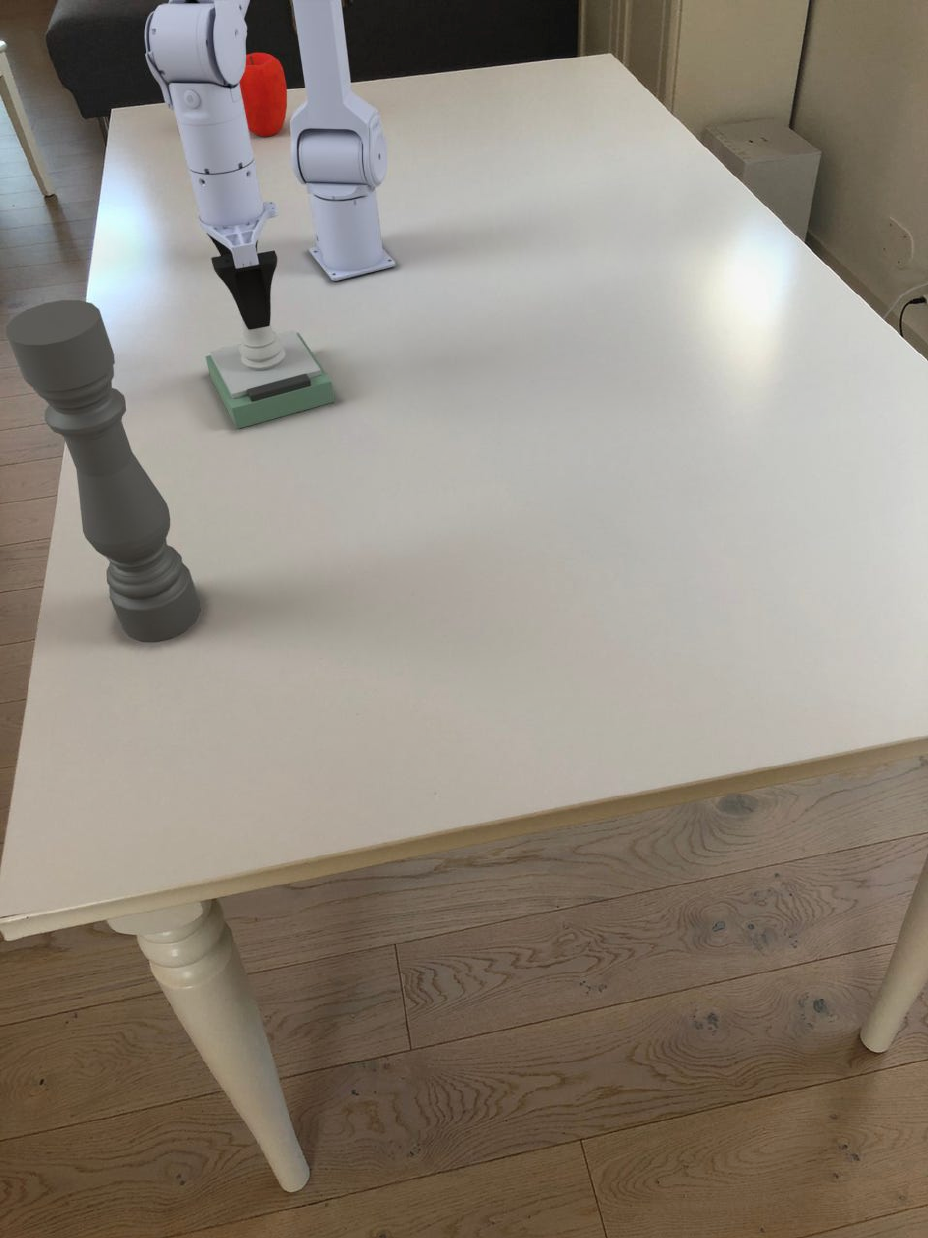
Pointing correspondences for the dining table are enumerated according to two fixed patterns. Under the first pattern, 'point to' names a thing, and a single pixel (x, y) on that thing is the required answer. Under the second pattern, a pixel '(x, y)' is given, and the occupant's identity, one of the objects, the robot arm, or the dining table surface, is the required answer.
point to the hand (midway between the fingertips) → (252, 307)
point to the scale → (270, 383)
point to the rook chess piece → (261, 348)
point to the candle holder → (106, 466)
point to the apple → (264, 94)
